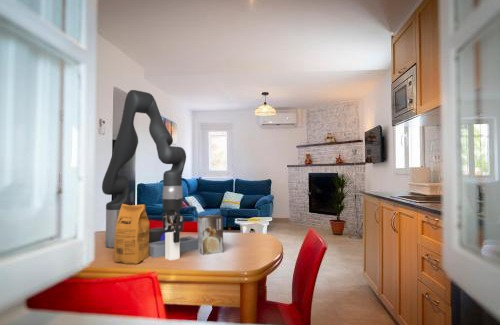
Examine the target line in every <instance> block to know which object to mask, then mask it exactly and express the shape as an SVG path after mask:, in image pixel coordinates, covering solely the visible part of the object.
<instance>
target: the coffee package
mask: <svg viewBox="0 0 500 325" xmlns="http://www.w3.org/2000/svg"><path fill="white" fill-rule="evenodd" d="M146 208H147V205H146V204H134V205H133V204H132V205H131V204H130V205H129V204H127V205H126V204H122V205H121V209H120V212H119V216H118V219H117V224H116V229H115V239H114V253H113V256H114V257H113V258H114V261H113V262H114V263H122V264H124V265H136V264H137V265H138V264H139V263H141V262H142V261H144V260H147V259H148V258H149V257H150V256H149V229H150V220H149V217H148V215H147V214H148V213H147V212H146Z"/></svg>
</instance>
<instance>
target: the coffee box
mask: <svg viewBox="0 0 500 325" xmlns="http://www.w3.org/2000/svg"><path fill="white" fill-rule="evenodd" d="M223 221H224V220H223V215H220V214H207V215H197V239H198V249H197V252H198V253H199V254H201V255H202V256H208V255H215V254H223V253H224V229H223V228H224V226H223V225H224V222H223Z"/></svg>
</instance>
